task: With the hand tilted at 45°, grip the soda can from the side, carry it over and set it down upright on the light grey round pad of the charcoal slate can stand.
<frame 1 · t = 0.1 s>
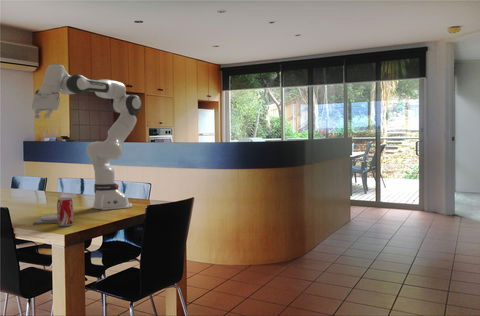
hand: (41, 117, 216), 52 cm above the table, tool tilted 20°, fingers open, 8 cm apart
soda can: (65, 225, 201), on the table
slate can stand: (53, 220, 212), on the table
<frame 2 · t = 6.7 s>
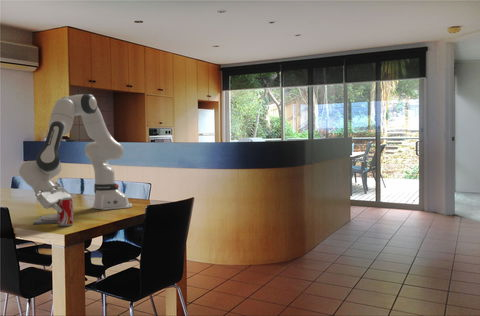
hand: (66, 210, 201), 7 cm above the table, tool tilted 45°, fingers closed on soda can, 6 cm apart
soda can: (65, 225, 201), on the table, touching gripper
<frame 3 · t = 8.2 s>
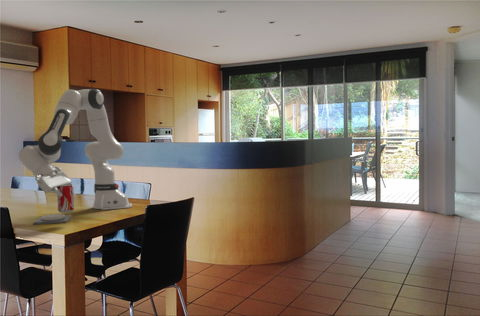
hand: (66, 194, 201), 15 cm above the table, tool tilted 45°, fingers closed on soda can, 6 cm apart
soda can: (66, 212, 201), point 6 cm above the table, touching gripper
when the fingers open (11 cm above the table, at t = 12.1 s): soda can stays where it is, resting on slate can stand.
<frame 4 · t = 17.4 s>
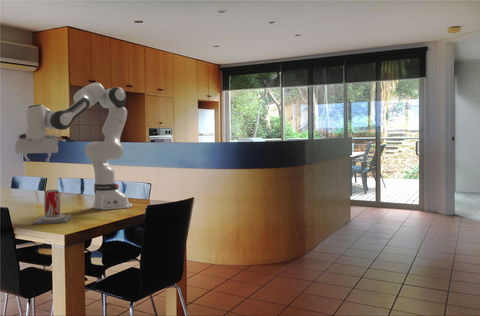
hand: (37, 161, 221), 29 cm above the table, tool pointing down, fingers open, 8 cm apart
soda can: (52, 216, 213), point 2 cm above the table, touching slate can stand
at the end: soda can 0.4 cm off-centre on the slate can stand, point 2.0 cm above the slate can stand's base; soda can tilted 0°; the gripper is holding nothing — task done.
